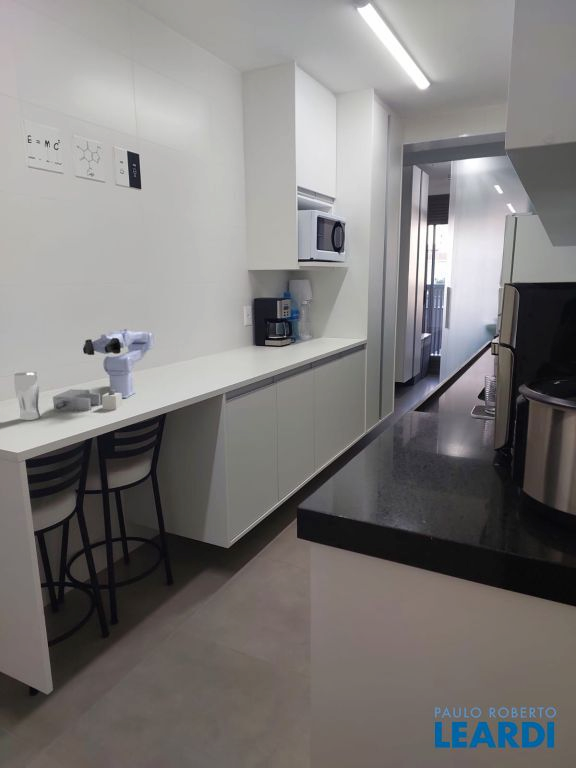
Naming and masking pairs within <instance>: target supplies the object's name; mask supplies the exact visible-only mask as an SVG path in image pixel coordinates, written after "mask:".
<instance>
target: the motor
mask: <svg viewBox="0 0 576 768" xmlns="http://www.w3.org/2000/svg"><path fill="white" fill-rule="evenodd" d="M52 401H53V402H52V403H53V411H54V412H75V411H91V410H92V406H101V405H102V404H101V403H102V402H101V401H102V400H101V393H90V390H89V389H77V388H75V389H73V388H71V389H68V390H66V391H64V392H60V393H59V394H56V395H53V396H52Z"/></svg>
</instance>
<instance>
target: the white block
mask: <svg viewBox="0 0 576 768" xmlns="http://www.w3.org/2000/svg"><path fill="white" fill-rule="evenodd" d="M101 401H102V402H101V403H102V404H101V405H102V410H105V409H106V411H107V410H111V411H115V410H116V411H117V410H119V409H120V408H122V407H123V398H122V393H115V391H114V390H110V389H109V390H108V392H107V393H105V394H103V395H101ZM118 408H119V409H118Z"/></svg>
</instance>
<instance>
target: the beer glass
mask: <svg viewBox="0 0 576 768" xmlns="http://www.w3.org/2000/svg"><path fill="white" fill-rule="evenodd" d="M13 375H14V379H13V380H14V381H13V382H14V390H15V394H16V398H17V402H18V404H19V409H20V414H19V420H20V421H21V422H22V421H23V422H26V421H37V420H39V419H40V418H41V412H40V411H39V399H40V398H39V397H40V396H39V395H40V384H39V378H38V373H37V371H36V372H35V371H24V372H23V371H22V372H16V373H14V374H13Z"/></svg>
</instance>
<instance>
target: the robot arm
mask: <svg viewBox="0 0 576 768" xmlns="http://www.w3.org/2000/svg"><path fill="white" fill-rule="evenodd" d="M154 343H155V339H154V334H152V332H146V331H132V330H129V329H128V328H127V329H126V328H124V329H119V331H110V332H109V335H107V334H100V337H99V338H98V339H95V340H94V341H92V339H86V340H85V341H84V343H83V347H82V350H83V351H82V352H83V354H85V355H88V356H94V355H95V352H97V353H100V354H104V355H108V354H110V353H112V354H114V355H115V354H116V356H105V357H104V359H103V363H102V364H103V370H104V371H105V373H107V375H109V376H108V378H109V390H114V391H115V393H122V399H127V398H129V397H130V396H133V395H134V394H136V391H134V388H133V387H134V383H133V377H132V375H131V372H132V371H133V369H134V368H135V364H136V363H138V362H139V361H141V360H143V359H144V357H145V356H146V354H147V352H148V351H150V350H152V349H153V346H154ZM126 347H127V350H128V351H126V352H125V353H123V354H120V353H121V349H125V348H126ZM117 354H120V355H117Z"/></svg>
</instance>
